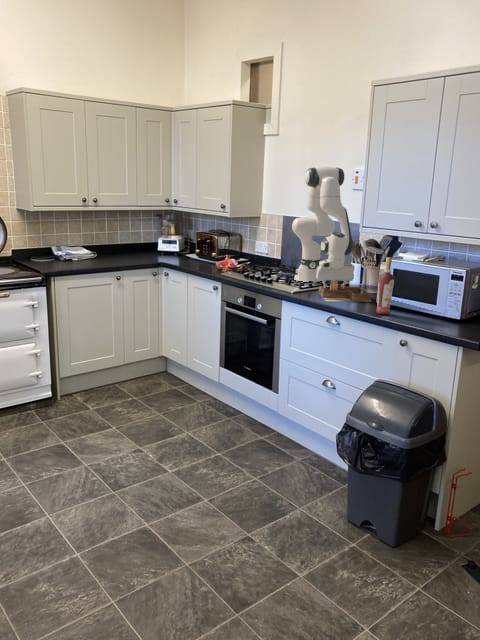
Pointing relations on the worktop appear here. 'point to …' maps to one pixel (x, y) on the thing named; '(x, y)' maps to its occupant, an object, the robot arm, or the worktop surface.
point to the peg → (334, 285)
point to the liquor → (385, 289)
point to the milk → (382, 270)
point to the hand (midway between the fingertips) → (333, 288)
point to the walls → (346, 293)
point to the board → (339, 299)
